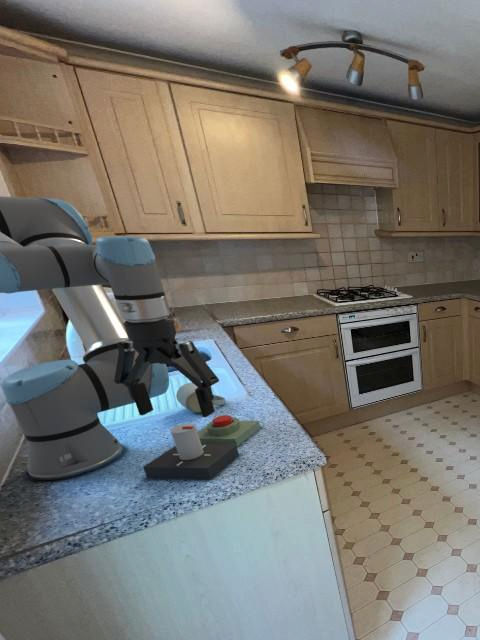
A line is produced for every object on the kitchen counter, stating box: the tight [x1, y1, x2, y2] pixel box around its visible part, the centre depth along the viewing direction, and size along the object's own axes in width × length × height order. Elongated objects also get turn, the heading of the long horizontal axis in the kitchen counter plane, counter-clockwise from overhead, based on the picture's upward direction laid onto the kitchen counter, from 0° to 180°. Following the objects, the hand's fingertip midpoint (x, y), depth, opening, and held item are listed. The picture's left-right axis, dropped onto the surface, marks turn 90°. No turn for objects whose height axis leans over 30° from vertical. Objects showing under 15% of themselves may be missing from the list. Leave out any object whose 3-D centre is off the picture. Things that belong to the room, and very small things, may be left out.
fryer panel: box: [142, 444, 240, 480], centre depth 93 cm, size 14×10×3 cm
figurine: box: [168, 306, 183, 334], centre depth 200 cm, size 7×7×12 cm
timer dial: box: [170, 423, 204, 460], centre depth 91 cm, size 4×4×7 cm
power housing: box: [197, 416, 261, 447], centre depth 106 cm, size 12×10×4 cm
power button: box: [212, 414, 232, 427], centre depth 105 cm, size 4×4×2 cm
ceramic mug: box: [176, 382, 226, 414], centre depth 121 cm, size 11×8×8 cm
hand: (177, 413), depth 89 cm, fingers open, 13 cm apart
